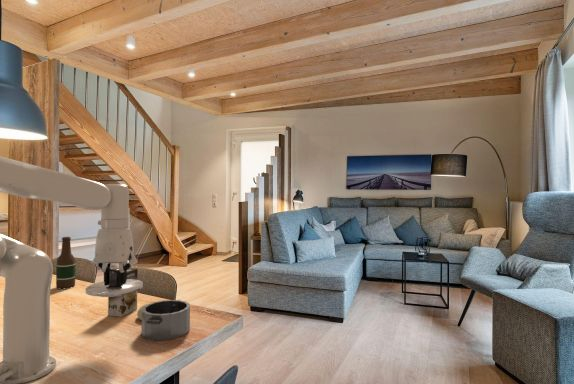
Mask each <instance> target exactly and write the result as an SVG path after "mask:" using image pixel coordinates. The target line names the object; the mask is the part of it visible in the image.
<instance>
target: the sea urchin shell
mask: <svg viewBox="0 0 574 384" xmlns="http://www.w3.org/2000/svg"><path fill="white" fill-rule="evenodd" d="M148 304H149V303H146V304H144V305H142V306H140V308H139V309H138V311H137V313H136V314H137V318H138V319H139V320H140V321H142V309H143V307H144V306H146V305H148Z"/></svg>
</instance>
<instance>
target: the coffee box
mask: <svg viewBox="0 0 574 384" xmlns="http://www.w3.org/2000/svg"><path fill="white" fill-rule="evenodd" d="M138 270H139V269H138V268H131V267H130V268H129V269H128V270H127V279H134V280H139V279H138V276H139V275H138V274H139V272H138ZM107 299H108V300H107V316H109V317H110V316H111V317H120V318H123V317H125V316H126V315H128V314H131V313H132V312H134V311H136V310H137V309H138V290H137V291H134V292H131V293H129V294H125V295H121V296H115V297H107Z"/></svg>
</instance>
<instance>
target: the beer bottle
mask: <svg viewBox="0 0 574 384" xmlns="http://www.w3.org/2000/svg"><path fill="white" fill-rule="evenodd" d="M71 240H72V238H71V237H70V236H64V237H61V241H62V243H61V251H60V254H59V256H58V257H57V260H56V264H55V265H56V270H55V271H56V272H55V273H56V274H55V276H56V277H55V279H56V280H55V287H56V289H58V288H68V289H72V288H74V287H75V286H76V258H75V256H74V254H72V249H71ZM71 287H72V288H71Z"/></svg>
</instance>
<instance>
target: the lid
mask: <svg viewBox="0 0 574 384" xmlns="http://www.w3.org/2000/svg"><path fill="white" fill-rule="evenodd" d="M119 272H120V269H119V268H118V267H115V268H111V269H109V285H107V286H105V285H104V280H103V281H100V282H96V283H93V284H90V285H88V286H87V287H86V288H85V294H86V295H88V296H91V297H92V296H93V297H101V298H108V297H115V296H121V295H125V294H129V293H131V292H134V291H137V292H138V290H141V289H142V288H143V286H144V282H143V281H141V280H139V279H138V280H134V279H127V280H126V283H125V284H123V285H121V286H118V273H119Z"/></svg>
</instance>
